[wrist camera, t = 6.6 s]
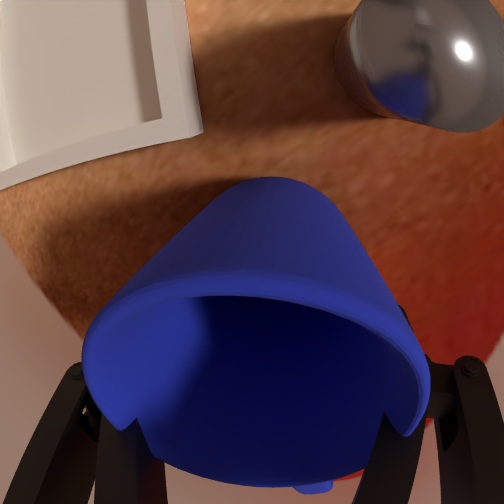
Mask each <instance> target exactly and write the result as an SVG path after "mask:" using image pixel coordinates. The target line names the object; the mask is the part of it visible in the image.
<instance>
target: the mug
mask: <svg viewBox="0 0 504 504" xmlns="http://www.w3.org/2000/svg"><path fill="white" fill-rule="evenodd" d="M82 369H83V374H84V379H85V382H86V385H87V387H88V390H89V392H90V395H91V396H92V398H93V400H94V402H95V403H96V405H97V407H98V408H99V409H100V411H101V412H102V414H103V415H104V416H105V417H106V418H107V419H108V421H109V422H110V423H111V424H112V425H113V426H114V427H115V428H116V429H117V430H119V431H120V430H123V429H125V428H126V427H128V426H129V425H130V424H131V423H132V422H133V421H134V420H135V419H136V417H137V419H138V422H139V424H140V427H141V429H142V431H143V434H144V437H145V439H146V441H147V444H148V447H149V449H150V451H151V453H152V455H153V456H154V457H155V458H157V459H159V460H161V461H163V462H165V463H167V464H169V465H171V466H174V467H176V468H178V469H180V470H183V471H186V472H189V473H191V474H194V475H197V476H200V477H203V478H208V479H212V480H215V481H220V482H224V483H230V484H237V485H243V486H252V487H272V488H274V487H293V488H294V489H295V490H296V491H298V492H300V493H302V494H318V493H325V492H328V491H330V490H331V489H332V487H333V480H334V479H338V478H341V477H344V476H347V475H350V474H352V473H355V472H357V471H360V470H362V469H365V468H366V465H367V463H368V460H369V457H370V454H371V451H372V448H373V445H374V442H375V439H376V436H377V433H378V429H379V426H380V423H381V419H382V416H383V412H384V411H385V413H386V415H387V417H388V419H389V421H390V423H391V424H392V425H393V427H394V428H395V430H396V431H397V432H398V433H399V434H401V435H402V436H405V437H406V436H409V435H411V433H412V432H413V431H414V430H415V428H416V427H417V425H418V424H419V422H420V420H421V418H422V417H423V415H424V412H425V410H426V407H427V404H428V401H429V396H430V373H429V367H428V363H427V360H426V357H425V355H424V352H423V350H422V348H421V346H420V344H419V343H418V341H417V339H416V337H415V335H414V333H413V331H412V329H411V328H410V326H409V324H408V322H407V320H406V318H405V317H404V315H403V313H402V311H401V309H400V308H399V306H398V304H397V302H396V301H395V299H394V297H393V295H392V294H391V292H390V290H389V289H388V287H387V285H386V283H385V282H384V280H383V278H382V277H381V275H380V273H379V272H378V270H377V268H376V267H375V265H374V264H373V262H372V260H371V259H370V257H369V255H368V254H367V252H366V251H365V249H364V248H363V246H362V244H361V243H360V241H359V240H358V238H357V237H356V235H355V234H354V232H353V230H352V229H351V227H350V226H349V224H348V223H347V221H346V220H345V218H344V217H343V215H342V214H341V213H340V211H339V210H338V209H337V207H336V206H335V205H334V204H333V203H332V202H331V201H330V200H329V199H328V198H327V197H326V196H325V195H323V194H322V193H321V192H319V191H318V190H316V189H314V188H313V187H311V186H309V185H307V184H305V183H302V182H299V181H296V180H293V179H289V178H282V177H260V178H255V179H250V180H247V181H244V182H241V183H239V184H236V185H234V186H232V187H230V188H229V189H227V190H226V191H224V192H223V193H221V194H220V195H219V196H217V197H216V198H215V199H214V200H213V201H212V202H211V203H209V204H208V205H207V206H206V207H205V208H204V209H203V210H202V211H201V212H200V213H198V214H197V215H196V216H195V217H194V218H193V219H192V220H191V221H190V222H189V223H188V224H187V225H185V226H184V227H183V228H182V229H181V230H180V231H179V232H178V233H177V234H176V235H175V236H174V237H173V238H172V239H171V240H170V241H169V242H168V243H166V244H165V245H164V246H163V247H162V248H161V249H160V250H159V251H158V252H157V253H156V254H155V255H154V256H153V257H152V258H151V259H150V260H149V261H148V262H147V263H146V264H145V265H144V266H143V267H142V268H141V269H140V270H139V271H138V272H137V273H136V274H135V275H134V276H133V277H132V278H131V279H130V280H129V281H128V282H127V283H126V284H125V285H124V286H123V287H122V288H121V289H120V290H119V291H118V292H117V293H116V294H115V295H114V296H113V297H112V298H111V299H110V300H109V301H108V302H107V303H106V304H105V305H104V307H103V308H102V309H101V310H100V311H99V312H98V313H97V315H96V316H95V318H94V319H93V321H92V322H91V324H90V326H89V328H88V330H87V332H86V335H85V339H84V342H83V347H82Z"/></svg>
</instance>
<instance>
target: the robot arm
mask: <svg viewBox="0 0 504 504" xmlns="http://www.w3.org/2000/svg"><path fill="white" fill-rule="evenodd" d="M398 306H399V308H400V309H401V311H402V313H403V315H404V317H405V318H406V320H407V322H408V324H409V326H410V322H409V320H408V317H407V315H406V313H405V310H404V309H403V308H402V307H401V306H400V305H399V304H398ZM410 328H411V329H412V327H411V326H410ZM412 331H413V330H412ZM413 333H414V332H413ZM424 355H425V357H426V360H427V363H428V367H429V373H430V396H429V401H428V404H427V407H426V410H425V412H424V415H423V417H422V418H421V420H420V422H419V424H418V425H417V427H416V428H415V430H414V431H413V432H412V433H411V435H409V436H406V437H405V436H402V435H401V434H399V433H398V432H397V431H396V430H395V428H394V427H393V425H392V424H391V423H390V421H389V419H388V417H387V415H386V413H385V411H384V412H383V416H382V419H381V423H380V426H379V429H378V433H377V436H376V439H375V442H374V445H373V448H372V451H371V454H370V457H369V460H368V463H367V465H366V468H365V469H364V472H363V475H362V478H361V481H360V484H359V486H358V489H357V491H356V494H355V497H354V499H353V502H352V504H408V500H409V497H410V494H411V490H412V486H413V482H414V478H415V474H416V469H417V465H418V460H419V456H420V451H421V446H422V440H423V434H424V428H425V422H426V418H434V425H435V432H436V440H437V449H438V458H439V471H440V486H441V504H504V422H503V419H502V415H501V412H500V408H499V405H498V401H497V398H496V395H495V392H494V389H493V386H492V383H491V380H490V377H489V374H488V372H487V368H486V366H485V365H484V363H483V362H482V361H481V360H480V359H478V358H476V357H473V356H463V357H460V358H458V359H457V360H456V361H455V363H454V365H445V364H438V363H434V362H432V361H431V360H430V358H429V357H428V356H427V355H426V354H424ZM84 408H86V412H85V413H84V414H82V412H83V410H84ZM94 481H95V494H94V504H168V501H167V489H166V478H165V465H164V462H163V461H161V460H159V459H157V458H155V457H154V456H153V455H152V453H151V451H150V449H149V447H148V444H147V441H146V439H145V437H144V434H143V431H142V429H141V427H140V424H139V422H138V419H137V417H136V419H135V420H134V421H133V422H132V423H131V424H130V425H129V426H128V427H126V428H125V429H123V430H120V431H119V430H117V429H116V428H115V427H114V426H113V425H112V424H111V423H110V422H109V421H108V419H107V418H106V417H105V416H104V415H103V414H102V412H101V411H100V409H99V408H98V407H97V405H96V403H95V402H94V400H93V398H92V396H91V395H90V392H89V390H88V387H87V385H86V382H85V379H84V374H83V369H82V362H78V363H76V364H74V365H72V366H71V367H70V368H69V369H68V370H67V371H66V373H65V375H64V376H63V378H62V380H61V382H60V384H59V385H58V387H57V389H56V391H55V393H54V395H53V397H52V398H51V400H50V402H49V404H48V406H47V408H46V410H45V411H44V414H43V416H42V418H41V419H40V421H39V423H38V425H37V427H36V429H35V431H34V433H33V435H32V438H31V440H30V442H29V444H28V446H27V448H26V450H25V452H24V454H23V457H22V459H21V461H20V463H19V466H18V468H17V470H16V472H15V475H14V477H13V480H12V482H11V484H10V487H9V489H8V492H7V494H6V497H5V499H4V502H3V504H88V500H89V497H90V493H91V491H92V487H93V484H94Z"/></svg>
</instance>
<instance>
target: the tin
mask: <svg viewBox="0 0 504 504" xmlns="http://www.w3.org/2000/svg"><path fill="white" fill-rule="evenodd" d="M333 58H334V66H335V71H336V74H337V77H338V79H339V81H340V83H341V85H342V86H343V88H344V90H345V91H346V92H347V93H348V95H349V96H350V97H351V98H352V99H353V100H354V101H355V102H356V103H358V104H359V105H360V106H361V107H363V108H365V109H366V110H368V111H370V112H372V113H374V114H377V115H380V116H385V117H389V118H394V119H399V120H404V121H409V122H413V123H418V124H422V125H426V126H431V127H435V128H439V129H442V130H446V131H451V132H473V131H478V130H481V129H484V128H486V127H488V126H489V125H491V124H493V123H494V122H495V121H497V120H498V119H499V118H500V117H501V116H502V115H503V114H504V21H503V20H502V18H501V16H500V15H499V13H498V12H497V10H496V9H495V8H494V6H493V5H492V4H491V3H490V1H489V0H361V2H360V3H359V5H358V6H357V8H356V9H355V11H354V12H353V14H352V15H351V16H350V18H349V19H348V21H347V22H346V24H345V25H344V27H343V29H342V30H341V32H340V33H339V35H338V37H337V40H336V42H335V46H334V54H333Z"/></svg>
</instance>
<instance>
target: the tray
mask: <svg viewBox="0 0 504 504" xmlns="http://www.w3.org/2000/svg"><path fill="white" fill-rule="evenodd" d="M201 133H204V130H203V124H202V117H201V111H200V105H199V98H198V92H197V85H196V79H195V72H194V65H193V58H192V51H191V44H190V37H189V30H188V23H187V15H186V8H185V0H0V190H1V189H4V188H7V187H9V186H12V185H15V184H17V183H20V182H23V181H26V180H28V179H31V178H34V177H37V176H40V175H43V174H46V173H49V172H52V171H55V170H59V169H62V168H65V167H68V166H72V165H75V164H79V163H82V162H85V161H89V160H93V159H96V158H100V157H104V156H108V155H112V154H116V153H120V152H124V151H128V150H132V149H137V148H141V147H145V146H150V145H155V144H160V143H164V142H170V141H175V140H180V139H185V138H191V137H193V136H196V135H199V134H201Z"/></svg>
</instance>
